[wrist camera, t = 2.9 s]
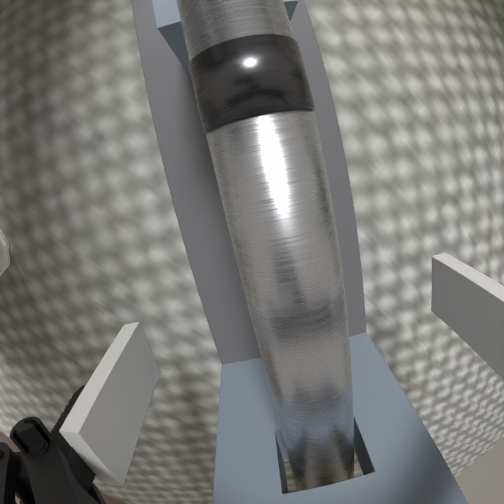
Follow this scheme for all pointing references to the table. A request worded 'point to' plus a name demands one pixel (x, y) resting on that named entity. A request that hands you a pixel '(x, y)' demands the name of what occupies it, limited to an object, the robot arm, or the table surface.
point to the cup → (4, 253)
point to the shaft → (278, 221)
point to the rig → (237, 312)
